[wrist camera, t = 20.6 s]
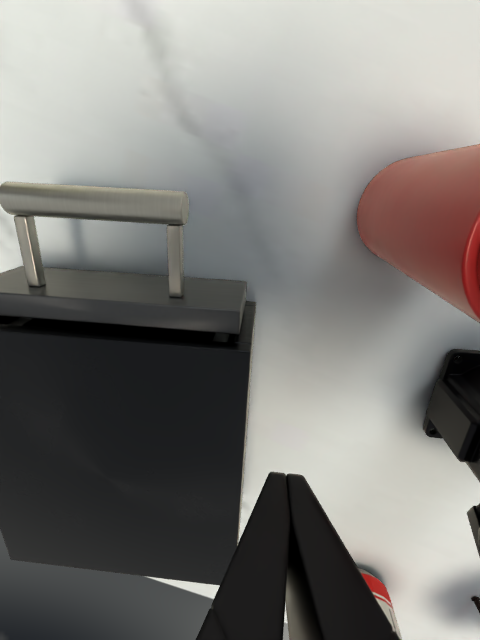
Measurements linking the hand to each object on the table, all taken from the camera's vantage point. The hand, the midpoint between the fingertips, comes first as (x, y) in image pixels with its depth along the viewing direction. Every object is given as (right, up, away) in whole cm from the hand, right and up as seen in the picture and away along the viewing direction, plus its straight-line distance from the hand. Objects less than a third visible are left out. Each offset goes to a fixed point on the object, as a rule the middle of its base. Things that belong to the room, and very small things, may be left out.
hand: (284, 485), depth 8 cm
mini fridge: (-8, -2, +16) cm, 17 cm away
